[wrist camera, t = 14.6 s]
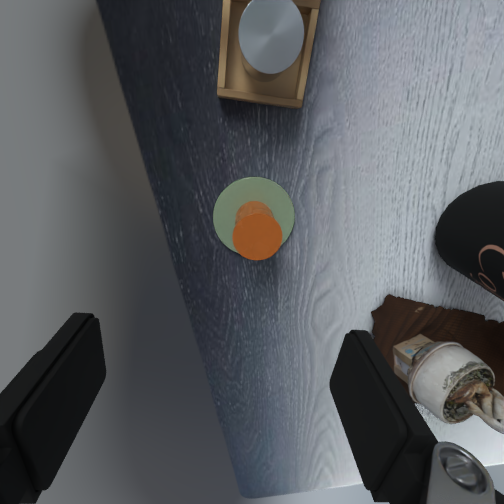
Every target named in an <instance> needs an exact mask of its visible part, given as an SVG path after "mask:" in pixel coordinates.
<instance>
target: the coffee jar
mask: <svg viewBox="0 0 504 504" xmlns="http://www.w3.org/2000/svg"><path fill="white" fill-rule="evenodd" d="M435 240H436V246H437V250H438V253H439V255H440V257H441V258H442V259H443V260H444V261H445V262H446V263H447V265H449V266H450V267H452V268H453V269H455V270H456V271H458V272H460V273H461V274H463V275H464V276H466V277H467V278H469V279H470V280H472V281H473V282H475V283H476V284H478V285H480V286H481V287H483V288H484V289H486V290H487V291H489V292H490V293H492V294H493V295H495V296H496V297H498V298H500V299H501V300H503V301H504V181H496V182H492V183H487V184H483V185H479V186H477V187H475V188H473V189H471V190H469V191H467V192H465V193H463V194H461V195H460V196H459V197H457V198H456V199H455V200H454V201H453V202H452V203H450V204H449V205H448V207H447V208H446V210H445V211H444V212H443V214H442V215H441V217H440V219H439V222H438V224H437V227H436V236H435Z"/></svg>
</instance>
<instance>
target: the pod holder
mask: <svg viewBox="0 0 504 504" xmlns="http://www.w3.org/2000/svg"><path fill="white" fill-rule="evenodd" d="M251 1H252V0H223V9H222V25H221V40H220V56H219V71H218V88H217V96H218V97H219V98H225V99H232V100H238V101H245V102H252V103H259V104H265V105H272V106H279V107H286V108H292V109H299V108H301V107H302V102H303V101H302V100H303V97H304V91H305V86H306V80H307V74H308V69H309V63H310V57H311V52H312V46H313V40H314V35H315V29H316V24H317V18H318V12H319V7H320V1H321V0H292V1H293V2H294V4H295V5H296V6H297V8H298V10H299V12H300V14H301V16H302V20H303V24H304V40H303V45H302V48H301V51H300V53H299V55H298V57H297V59H296V60H295V61H294V63H293V64H292V65H291V66H290V67H289V68H287V69H286V70H284V71H283V72H282V74H281V75H280V76H279V77H277V78H276V79H274V80H273V81H270V82H259V81H256V80H254V79H253V78H251V77H250V76H249V75H248V74H247V72H246V71H245V69H244V67H243V64H242V61H241V49H240V45H239V38H238V31H239V23H240V19H241V16H242V14H243V12H244V10H245V8H246V7H247V5H248V4H249V3H250V2H251Z"/></svg>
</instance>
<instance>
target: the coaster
mask: <svg viewBox="0 0 504 504" xmlns="http://www.w3.org/2000/svg"><path fill="white" fill-rule="evenodd" d="M250 201H259V202H262V203H264V204H266V205H267V206H268V207H269V208H270V209H271V211H272V213H273V216H274V218H275V220H276V221H277V222H278V223H279V225H280V227H281V230H282V243H281V245H282V244H283V243H284V242H285V241H286V240H287V238H288V237H289V235H290V233H291V231H292V229H293V225H294V219H295V212H294V207H293V203H292V201H291V199H290V197H289V195H288V194H287V192H286V191H285V190H284V189H283V188H282V187H281V186H280V185H279V184H277V183H276V182H274V181H272V180H270V179H267V178H263V177H255V176H253V177H245V178H242V179H239V180H236V181H235V182H233V183H231V184H230V185H228V186H227V187H226V188H225V189H224V190H223V191H222V192H221V194H220V195H219V197H218V199H217V201H216V203H215V207H214V211H213V223H214V228H215V231H216V233H217V235H218V237H219V238H220V240H221V241H222V242H223V243H224V244H225V245H226V246H227V247H228V248H229V249H231V250H233V251H234V252H237V253H238V251H237V250H236V249H235V247H234V244H233V239H232V236H233V230H234V227H235V217H236V213H237V211H238V209H239V208H240V207H241V206H242V205H243V204H245V203H247V202H250ZM281 245H280V246H281Z"/></svg>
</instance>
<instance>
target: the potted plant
mask: <svg viewBox="0 0 504 504" xmlns="http://www.w3.org/2000/svg"><path fill="white" fill-rule="evenodd" d="M444 308H445V307H444ZM444 308H443V307H441V306H439V307H438V308H437V307H436V308H435V307H434V306H433V305H429V304H425V303H422V302H416V301H413V300H409V299H404V298H400V297H397V298H396V297H395V296H392V295H390V294H389V295H387V296H386V297H385V301H384V303H383V305H381V306H380V307H378V308H377V309H376V310H374V311H372V312H371V313H372V316H373V318H374V320H375V323H374V327H373V330H372V333H373V334H374V336H375V338H374V339H373V340H374V342H375V343H376V345H377V346H378V348H379V350H380V351H381V353H382V354H383V356H384V357H385V359H386V361H387V362H388V364H389V365H390V367H391V368H392V370H393V372H394V373H395V375H396V376H397V378H398V379H399V381H400V383H401V384H402V386H403V387H404V389H405V390H406V392H407V394H408V395H409V397H410V398H411V400H412V401H413V403H414V404H415V403H418V404H422V405H423V406H424V407H425V408H426V409H427V410H429V411H430V412H431V413H432V414H434V415H435V416H436V417H437V418H439V419H440V420H442V421H443V422H445V423H448V424H456V423H460V422H463V421H465V420H466V419H468V418H470V417H471V416H472V415H473V414H474V415H476V416H479V417H480V418H481V419H482V420H483V421H484V422H485V423H486V424H488V425H489V426H490V427H491V428H493V429H494V430H496V431H498V432H500V433H502V434H504V321H503V322H501V323H498V322H497V321H495V320H488V321H485V317H484V315H481V314H476V313H472V312H468V311H467V312H466V311H463V310H458V309H452V310H451V309H446V308H445V309H444Z"/></svg>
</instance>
